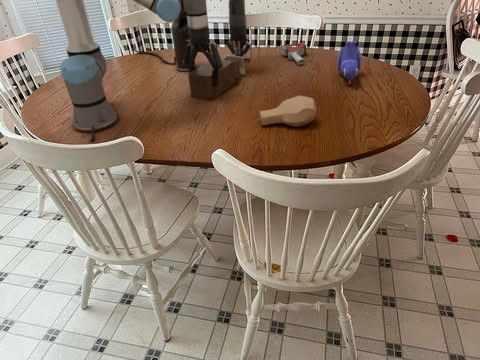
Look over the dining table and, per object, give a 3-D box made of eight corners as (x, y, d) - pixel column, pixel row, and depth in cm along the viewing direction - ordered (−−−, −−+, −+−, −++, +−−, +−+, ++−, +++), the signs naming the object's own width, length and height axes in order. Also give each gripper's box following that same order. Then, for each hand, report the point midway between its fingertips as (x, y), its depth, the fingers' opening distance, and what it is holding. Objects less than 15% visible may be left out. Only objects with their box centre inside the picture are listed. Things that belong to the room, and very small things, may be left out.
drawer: (234, 67, 172) (233, 51, 167) (251, 69, 168) (250, 53, 164) (206, 85, 155) (204, 67, 151) (223, 88, 151) (222, 70, 147)
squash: (320, 127, 121) (320, 106, 115) (262, 137, 123) (259, 116, 116) (314, 109, 129) (313, 87, 122) (259, 119, 130) (256, 98, 124)
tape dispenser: (301, 69, 172) (317, 54, 185) (301, 58, 169) (318, 44, 181) (269, 62, 180) (286, 49, 192) (269, 52, 176) (287, 39, 189)
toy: (336, 78, 167) (337, 88, 145) (337, 40, 160) (339, 44, 138) (358, 77, 165) (363, 87, 142) (360, 39, 158) (366, 42, 136)
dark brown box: (216, 79, 162) (214, 58, 157) (236, 83, 158) (234, 61, 152) (191, 96, 149) (187, 73, 143) (211, 100, 145) (208, 76, 139)
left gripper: (229, 26, 131) (233, 84, 144) (180, 22, 141) (188, 76, 154) (218, 31, 126) (223, 91, 139) (168, 26, 136) (177, 82, 149)
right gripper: (255, 23, 156) (255, 62, 166) (229, 21, 161) (231, 59, 172) (246, 27, 151) (248, 67, 161) (220, 24, 156) (223, 64, 166)
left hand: (205, 83), depth 147 cm, fingers closed on dark brown box, 10 cm apart
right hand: (239, 63), depth 166 cm, fingers closed
